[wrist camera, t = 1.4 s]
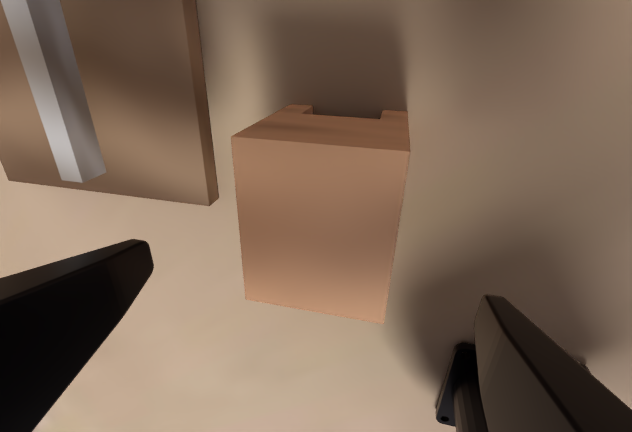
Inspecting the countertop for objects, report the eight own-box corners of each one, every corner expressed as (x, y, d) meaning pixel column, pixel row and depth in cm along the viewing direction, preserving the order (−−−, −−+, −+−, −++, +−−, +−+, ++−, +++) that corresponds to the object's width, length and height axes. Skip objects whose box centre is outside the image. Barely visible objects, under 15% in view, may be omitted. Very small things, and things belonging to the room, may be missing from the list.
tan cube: (389, 236, 17) (383, 324, 12) (289, 223, 18) (241, 298, 12) (407, 111, 14) (409, 151, 9) (287, 103, 15) (226, 135, 10)
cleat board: (218, 198, 18) (181, 229, 15) (25, 174, 20) (-41, 197, 17) (183, -102, 12) (112, -149, 9) (-76, -86, 15) (-200, -120, 12)
